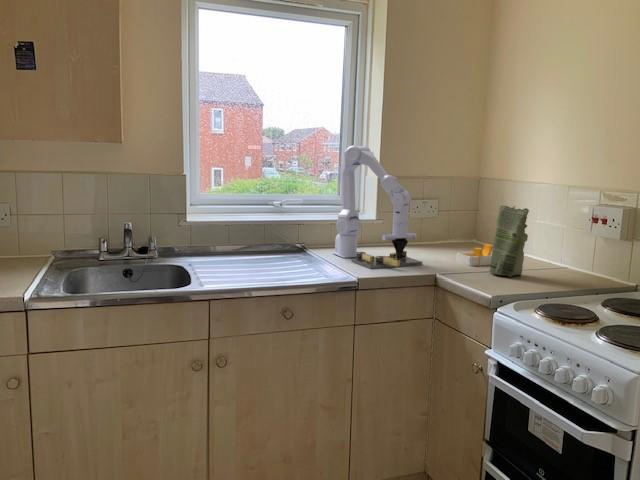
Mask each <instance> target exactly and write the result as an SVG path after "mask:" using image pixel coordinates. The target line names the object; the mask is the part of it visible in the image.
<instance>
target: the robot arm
mask: <svg viewBox="0 0 640 480" xmlns="http://www.w3.org/2000/svg"><path fill="white" fill-rule="evenodd" d="M361 165H365V166H367V167H368V168H369V169H370V170H371V171H372V172H373V173H374V174H375V176H377V178H378V179H379V181H380V186H381V187H382V189H383V190H384V191H385V192H386V194H387V195H388V196H389V198H390V203H391V204H392V208H393V210H392V212H393V213H392V230H391V231H392V233H390V234H389V233H388V234H382V237H381V238H382V239H381V241H385V242H387V241H391V244H392V245H393V248H394V250H395V252H396V258H398V259H402V253H403V251H405V248H406V246H407V245H408V242H409V240H418V233H415V232H414V233H412V232H411V233H408V231H409V212H410V211H409V209H410V208H409V207H410V204H411V203H412V199H413V198H412V194H411V193H410V191H408V190H407V189H406V190H405V188H404V187H403V186H401V184H400V183H399V182H398V181H397V180H398V178H397V177H396V176H394V175H392V174H388V172H387V171H386V170H385V169H384V167H383V166H382V165H381V163H380V162H379V161H378V159H377V158H376V156H375V154H374V152H373V151H372V150H371V149H370V148H369V146H366V145H350V146H348V147H347V148H346V149H345V150H344V151H343V158H342V161H341V164H340V188H341V189H340V191H341V195H340V196H341V211H340V212H339V213H338V215H337V221H336V224H335V225H336V230H337V232H338V233H337V235H336V236H335V238H334V239H335V240H334V252H333V253H332V254H333V255H335V256H338V257H340V258H347V259H348V258H356V254H357V252H358V250H357V248H358V233H359V230H360V229H361V226H362V223H361V220H360V217H359V213H358V211H357V210H356V185H355V184H356V183H355V180H356V178H355V175H356V174H355V170H356V169H358V167H359V166H361Z"/></svg>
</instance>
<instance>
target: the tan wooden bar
mask: <svg viewBox="0 0 640 480" xmlns="http://www.w3.org/2000/svg"><path fill="white" fill-rule="evenodd" d="M374 257H375V256H374V255H372V254H369V253H367V252H366V251H357V253H356V257H355V258H357V259H362V260H365V261H368V262H374Z"/></svg>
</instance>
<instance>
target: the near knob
mask: <svg viewBox="0 0 640 480" xmlns="http://www.w3.org/2000/svg"><path fill="white" fill-rule="evenodd" d="M385 256H386V255H376V256H375V257H376V263H380V264H388V265H393V266H400V260H398V259H393V258H388V257H385Z"/></svg>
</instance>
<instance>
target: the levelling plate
mask: <svg viewBox="0 0 640 480" xmlns="http://www.w3.org/2000/svg"><path fill="white" fill-rule="evenodd" d="M384 256H385V257H388V258H390V255H384ZM398 260H400V266H393V265H388V264H380V263H376V256H374V262H368V261H365V260H362V259H357V258H356V257H351V262H352V263H354V264H357V265H359V266H362V267H364V268H366V269H369V270H373V269H385V268H386V269H387V268H388V269H389V268H401V267H413V266H423V261H422V260H419V259H415V258H412V257H409V256H406V258H402V259H398Z"/></svg>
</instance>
